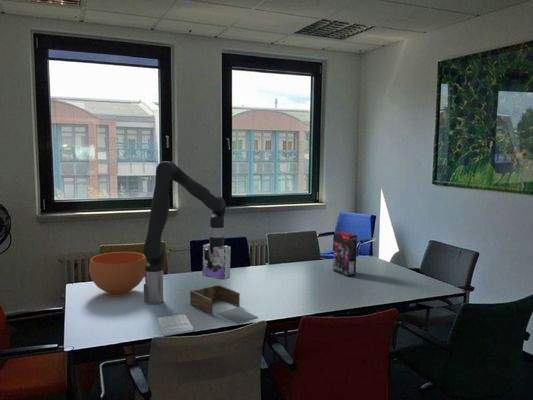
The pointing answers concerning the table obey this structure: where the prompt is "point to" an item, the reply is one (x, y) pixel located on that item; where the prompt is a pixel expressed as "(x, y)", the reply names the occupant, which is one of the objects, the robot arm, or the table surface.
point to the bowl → (117, 272)
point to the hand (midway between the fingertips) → (216, 267)
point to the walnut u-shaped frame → (213, 297)
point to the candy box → (218, 262)
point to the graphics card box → (345, 253)
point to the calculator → (175, 324)
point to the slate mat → (237, 315)
